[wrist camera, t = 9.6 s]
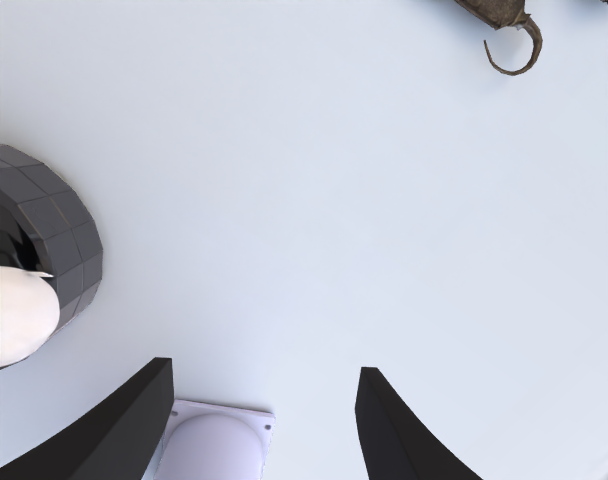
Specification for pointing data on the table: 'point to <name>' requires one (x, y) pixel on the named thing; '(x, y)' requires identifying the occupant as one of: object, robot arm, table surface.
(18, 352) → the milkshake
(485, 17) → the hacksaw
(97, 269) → the bowl
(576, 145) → the table surface
